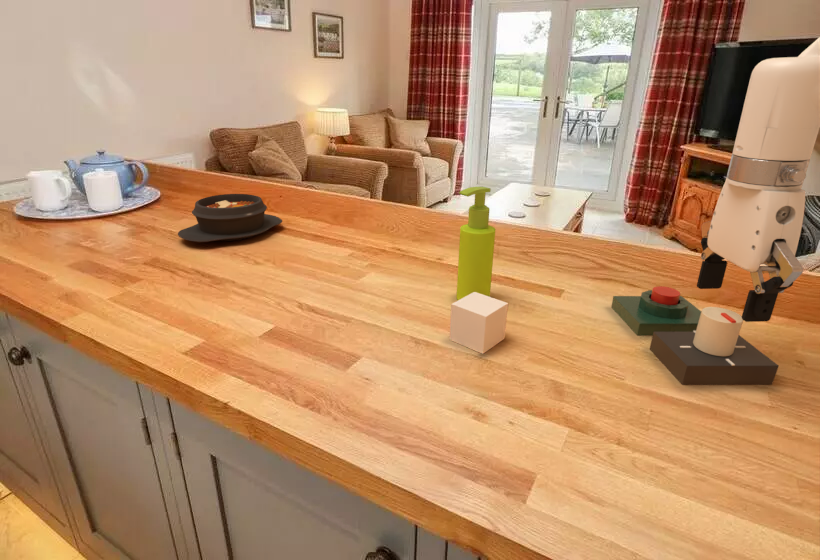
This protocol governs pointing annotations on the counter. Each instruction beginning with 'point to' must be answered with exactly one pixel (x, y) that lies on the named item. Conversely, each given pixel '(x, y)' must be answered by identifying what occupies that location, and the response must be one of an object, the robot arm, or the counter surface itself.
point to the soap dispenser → (476, 247)
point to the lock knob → (717, 331)
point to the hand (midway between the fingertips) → (730, 303)
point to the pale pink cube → (478, 321)
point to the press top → (665, 295)
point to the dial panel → (712, 362)
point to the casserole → (229, 218)
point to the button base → (655, 314)
